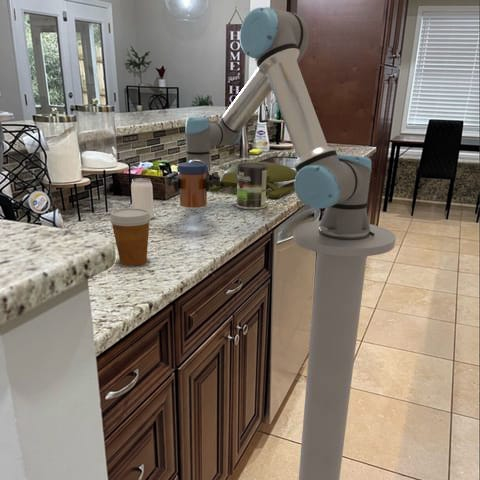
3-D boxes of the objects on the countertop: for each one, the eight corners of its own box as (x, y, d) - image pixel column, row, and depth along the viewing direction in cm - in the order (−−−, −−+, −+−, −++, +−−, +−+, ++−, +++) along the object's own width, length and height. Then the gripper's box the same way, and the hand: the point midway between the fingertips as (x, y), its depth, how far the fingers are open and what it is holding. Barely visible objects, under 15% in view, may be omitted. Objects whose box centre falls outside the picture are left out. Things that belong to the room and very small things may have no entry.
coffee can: (250, 211, 170) (251, 168, 164) (230, 205, 177) (230, 164, 171) (271, 206, 176) (273, 165, 171) (252, 201, 183) (253, 162, 178)
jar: (207, 201, 145) (206, 164, 141) (206, 207, 138) (205, 168, 134) (181, 201, 145) (179, 164, 141) (178, 207, 138) (177, 168, 134)
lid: (208, 169, 142) (208, 162, 141) (207, 174, 134) (206, 166, 133) (178, 169, 142) (178, 162, 141) (176, 173, 134) (175, 166, 133)
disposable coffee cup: (106, 266, 117) (102, 216, 112) (122, 254, 126) (118, 206, 121) (146, 269, 116) (142, 218, 111) (158, 256, 124) (156, 208, 120)
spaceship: (277, 199, 186) (278, 173, 182) (205, 191, 198) (204, 166, 195) (307, 184, 215) (309, 161, 211) (242, 178, 227) (243, 156, 224)
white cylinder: (138, 221, 155) (136, 182, 150) (129, 217, 160) (127, 179, 155) (157, 218, 158) (155, 180, 154) (148, 214, 163) (146, 177, 158)
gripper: (229, 185, 157) (229, 200, 136) (164, 184, 157) (154, 200, 136) (229, 160, 154) (229, 172, 133) (162, 160, 154) (152, 172, 133)
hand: (191, 186), depth 135 cm, fingers closed on jar, 8 cm apart
